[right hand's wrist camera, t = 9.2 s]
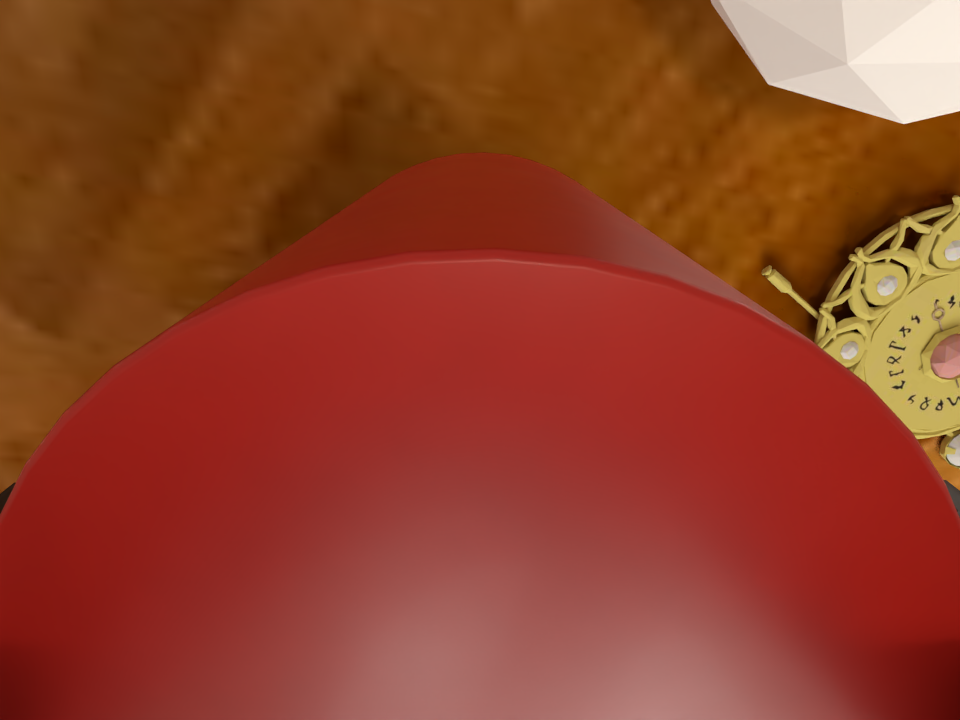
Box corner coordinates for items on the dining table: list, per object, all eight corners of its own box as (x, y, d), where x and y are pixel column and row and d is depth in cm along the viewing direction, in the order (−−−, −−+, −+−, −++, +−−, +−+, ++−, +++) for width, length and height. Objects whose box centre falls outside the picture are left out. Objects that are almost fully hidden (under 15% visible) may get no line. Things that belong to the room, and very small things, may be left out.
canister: (244, 321, 17) (-215, 719, 6) (487, 67, 15) (510, -90, 3) (474, 522, 19) (467, 1076, 8) (713, 332, 17) (1158, 744, 6)
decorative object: (1175, 327, 36) (905, 557, 41) (1132, 316, 38) (882, 535, 43) (960, 88, 31) (684, 381, 36) (926, 92, 33) (671, 367, 38)
